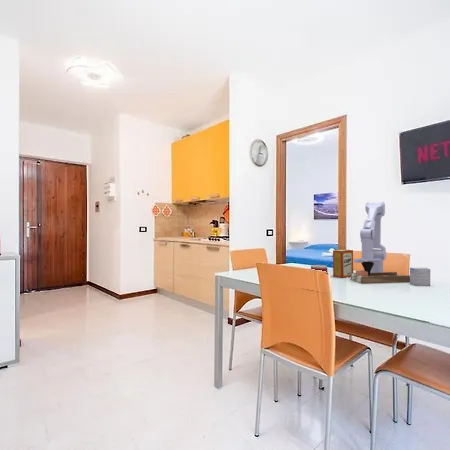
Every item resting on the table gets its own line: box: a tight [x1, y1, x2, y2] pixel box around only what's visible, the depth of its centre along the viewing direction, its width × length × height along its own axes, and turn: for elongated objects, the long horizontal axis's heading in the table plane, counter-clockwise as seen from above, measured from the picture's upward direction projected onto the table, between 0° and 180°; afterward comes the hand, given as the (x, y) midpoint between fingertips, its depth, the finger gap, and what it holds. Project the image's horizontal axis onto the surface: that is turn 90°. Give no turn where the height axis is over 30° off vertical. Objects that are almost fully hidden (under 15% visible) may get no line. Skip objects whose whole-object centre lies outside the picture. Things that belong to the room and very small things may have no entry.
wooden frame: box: [350, 271, 410, 285], centre depth 168 cm, size 12×27×4 cm, turn 95°
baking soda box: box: [332, 249, 354, 279], centre depth 182 cm, size 10×6×16 cm
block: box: [355, 270, 368, 277], centre depth 167 cm, size 4×4×4 cm
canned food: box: [310, 264, 328, 273], centre depth 152 cm, size 8×8×11 cm
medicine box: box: [409, 267, 431, 287], centre depth 156 cm, size 8×4×9 cm, turn 84°
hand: (367, 275), depth 168 cm, fingers closed
